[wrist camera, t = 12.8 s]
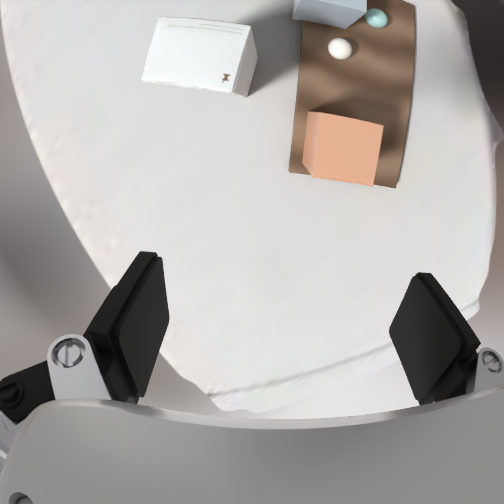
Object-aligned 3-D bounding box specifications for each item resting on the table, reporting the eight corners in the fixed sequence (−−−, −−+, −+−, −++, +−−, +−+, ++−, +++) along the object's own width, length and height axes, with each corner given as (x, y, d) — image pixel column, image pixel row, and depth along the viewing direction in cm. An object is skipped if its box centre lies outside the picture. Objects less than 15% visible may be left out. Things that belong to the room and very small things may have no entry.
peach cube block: (308, 111, 32) (321, 112, 25) (359, 120, 32) (383, 125, 25) (302, 162, 35) (312, 177, 28) (351, 169, 35) (372, 186, 28)
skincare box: (259, 57, 29) (258, 24, 16) (246, 101, 33) (236, 96, 19) (197, 46, 29) (158, 12, 15) (185, 90, 32) (138, 82, 18)
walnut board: (305, -23, 22) (307, -27, 21) (409, 7, 23) (414, 5, 21) (288, 169, 37) (289, 172, 36) (391, 185, 37) (395, 188, 36)
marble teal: (384, 5, 20) (395, 23, 22) (370, 6, 23) (381, 23, 24) (370, 12, 21) (382, 31, 23) (357, 13, 23) (368, 31, 25)
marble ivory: (331, 62, 27) (347, 65, 28) (345, 47, 24) (360, 51, 25) (319, 47, 27) (335, 50, 28) (331, 31, 24) (347, 36, 25)
